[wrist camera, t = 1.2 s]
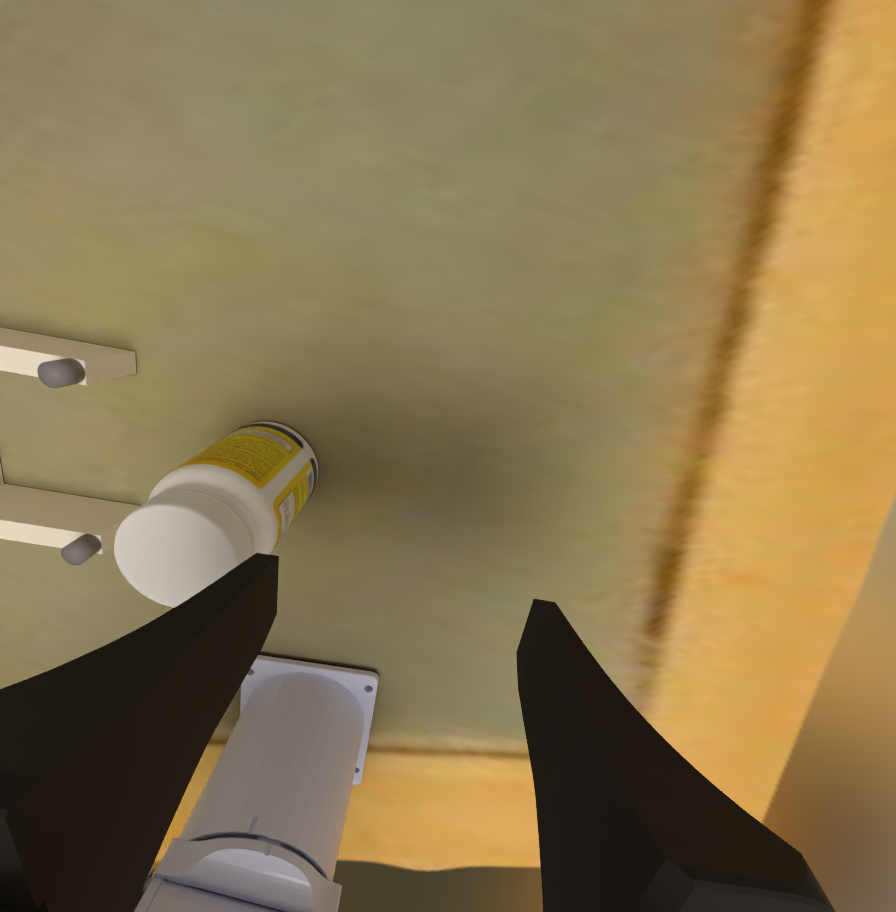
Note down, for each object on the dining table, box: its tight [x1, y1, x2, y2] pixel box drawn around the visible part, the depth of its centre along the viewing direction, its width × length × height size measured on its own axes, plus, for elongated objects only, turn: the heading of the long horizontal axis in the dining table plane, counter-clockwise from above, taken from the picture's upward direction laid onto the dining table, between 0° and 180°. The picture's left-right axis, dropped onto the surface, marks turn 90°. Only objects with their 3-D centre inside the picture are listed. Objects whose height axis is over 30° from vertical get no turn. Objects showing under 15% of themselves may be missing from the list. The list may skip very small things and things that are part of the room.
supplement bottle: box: [114, 422, 318, 607], centre depth 18 cm, size 5×5×8 cm
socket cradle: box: [0, 327, 140, 565], centre depth 20 cm, size 12×8×4 cm, turn 169°
